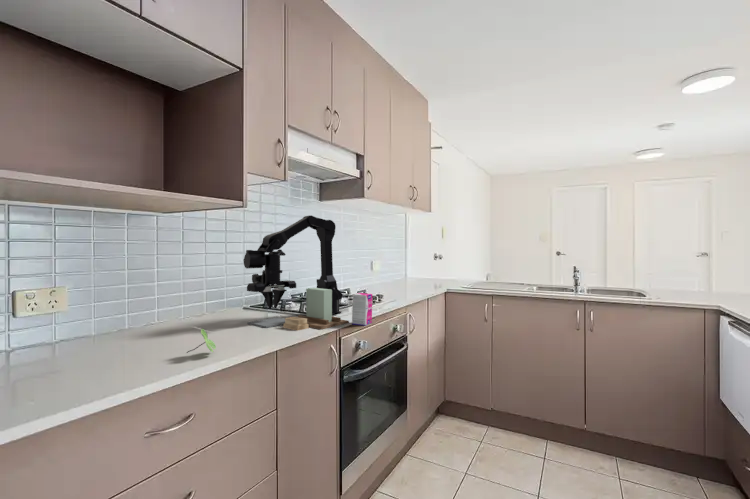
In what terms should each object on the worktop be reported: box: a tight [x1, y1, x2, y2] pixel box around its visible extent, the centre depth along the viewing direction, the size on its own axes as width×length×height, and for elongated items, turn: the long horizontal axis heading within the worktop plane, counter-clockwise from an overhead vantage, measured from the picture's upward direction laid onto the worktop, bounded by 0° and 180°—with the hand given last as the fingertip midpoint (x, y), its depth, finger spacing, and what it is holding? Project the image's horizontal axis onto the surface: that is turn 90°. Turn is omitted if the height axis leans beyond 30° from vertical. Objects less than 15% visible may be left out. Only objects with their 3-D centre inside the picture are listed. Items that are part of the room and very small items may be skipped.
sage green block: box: [305, 287, 333, 322], centre depth 146 cm, size 4×10×12 cm, turn 50°
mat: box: [247, 316, 286, 329], centre depth 146 cm, size 14×12×1 cm
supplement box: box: [351, 292, 373, 327], centre depth 144 cm, size 6×6×12 cm
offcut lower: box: [282, 323, 310, 332], centre depth 137 cm, size 5×8×2 cm, turn 51°
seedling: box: [185, 328, 217, 354], centre depth 105 cm, size 7×8×7 cm
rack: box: [297, 314, 350, 330], centre depth 146 cm, size 14×18×2 cm
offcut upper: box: [284, 316, 307, 326], centre depth 137 cm, size 4×7×2 cm, turn 55°
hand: (272, 308), depth 146 cm, fingers closed
